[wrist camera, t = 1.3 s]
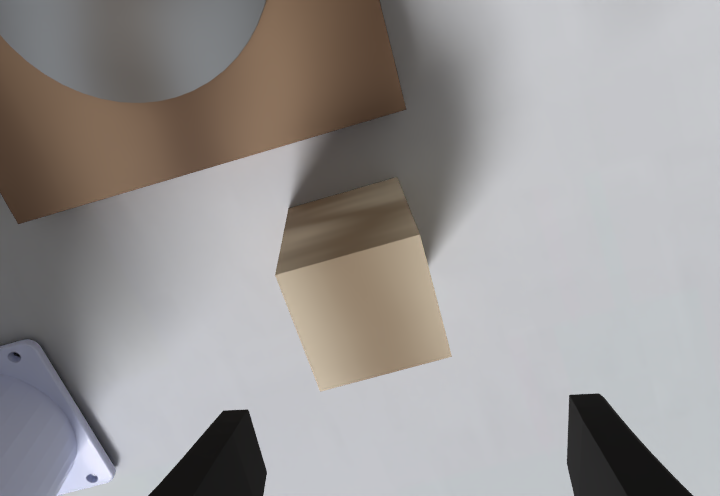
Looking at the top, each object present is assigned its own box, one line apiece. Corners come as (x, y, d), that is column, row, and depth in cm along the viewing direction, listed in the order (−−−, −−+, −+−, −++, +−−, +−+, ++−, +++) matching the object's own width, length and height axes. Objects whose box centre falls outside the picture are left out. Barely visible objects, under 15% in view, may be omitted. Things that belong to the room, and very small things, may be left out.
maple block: (322, 302, 24) (319, 391, 18) (288, 208, 22) (275, 275, 17) (422, 274, 24) (451, 356, 18) (396, 176, 22) (419, 234, 16)
